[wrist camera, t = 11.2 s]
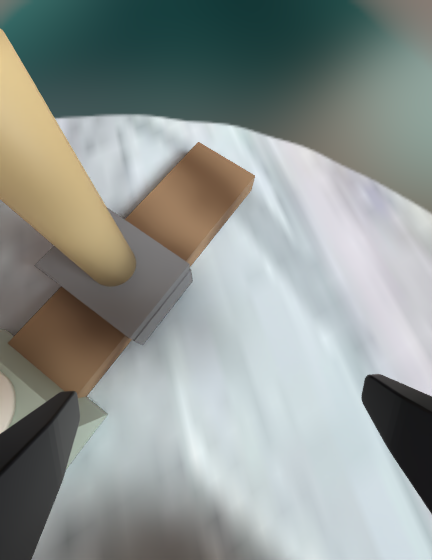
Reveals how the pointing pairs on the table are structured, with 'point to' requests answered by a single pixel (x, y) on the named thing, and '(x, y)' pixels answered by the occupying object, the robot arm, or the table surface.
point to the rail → (162, 228)
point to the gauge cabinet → (36, 395)
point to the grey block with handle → (79, 216)
